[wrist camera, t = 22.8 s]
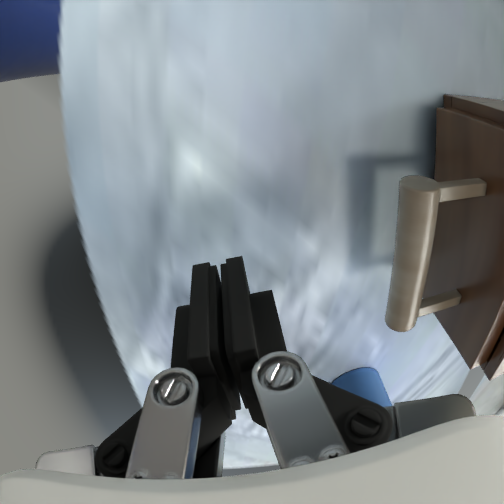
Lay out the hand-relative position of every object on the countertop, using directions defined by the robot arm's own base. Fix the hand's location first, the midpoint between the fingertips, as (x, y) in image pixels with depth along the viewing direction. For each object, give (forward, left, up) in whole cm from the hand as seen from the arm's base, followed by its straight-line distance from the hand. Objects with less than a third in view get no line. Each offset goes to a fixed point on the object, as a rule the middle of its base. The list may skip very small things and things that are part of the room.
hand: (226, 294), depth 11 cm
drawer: (+16, -1, -5) cm, 16 cm away
